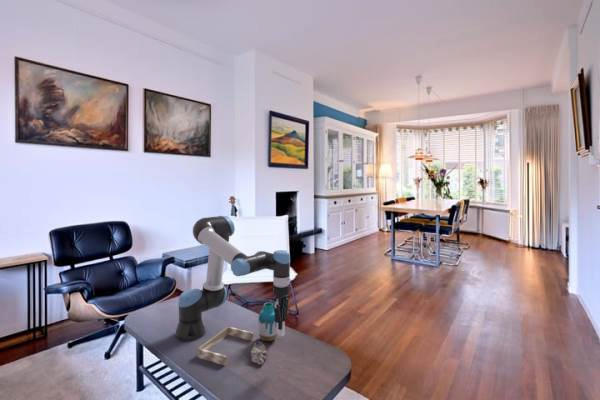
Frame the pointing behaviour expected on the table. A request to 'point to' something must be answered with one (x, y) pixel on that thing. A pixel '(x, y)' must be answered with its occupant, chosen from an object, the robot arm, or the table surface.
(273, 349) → the table surface
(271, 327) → the vase
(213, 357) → the u-shaped wooden frame
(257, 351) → the mineral rock
